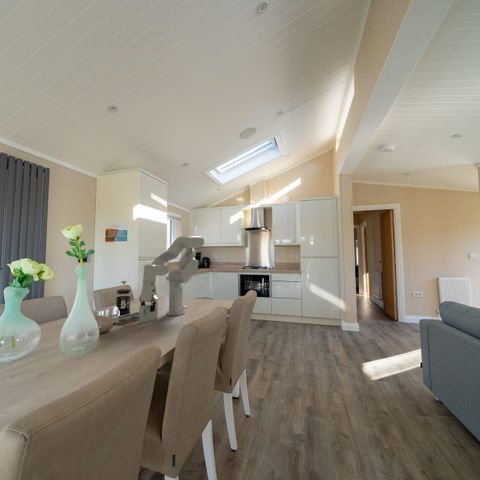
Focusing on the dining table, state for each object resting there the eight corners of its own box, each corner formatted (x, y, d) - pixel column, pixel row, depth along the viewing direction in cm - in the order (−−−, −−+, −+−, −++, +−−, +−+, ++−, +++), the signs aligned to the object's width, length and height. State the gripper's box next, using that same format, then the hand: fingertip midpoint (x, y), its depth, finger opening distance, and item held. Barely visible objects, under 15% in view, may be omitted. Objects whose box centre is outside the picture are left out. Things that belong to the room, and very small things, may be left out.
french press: (120, 312, 176) (121, 280, 177) (133, 312, 175) (134, 280, 176) (110, 316, 164) (112, 282, 165) (124, 316, 164) (125, 282, 165)
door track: (138, 315, 168) (139, 311, 168) (149, 317, 162) (149, 313, 162) (110, 322, 151) (110, 317, 151) (120, 325, 145) (120, 320, 145)
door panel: (154, 318, 162) (155, 302, 162) (157, 318, 160) (158, 303, 161) (138, 322, 152) (139, 306, 152) (141, 323, 150) (142, 306, 151)
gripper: (162, 284, 156) (161, 311, 154) (145, 282, 165) (144, 307, 164) (152, 285, 149) (151, 313, 148) (135, 282, 159) (134, 309, 157)
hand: (147, 310), depth 156 cm, fingers open, 9 cm apart
